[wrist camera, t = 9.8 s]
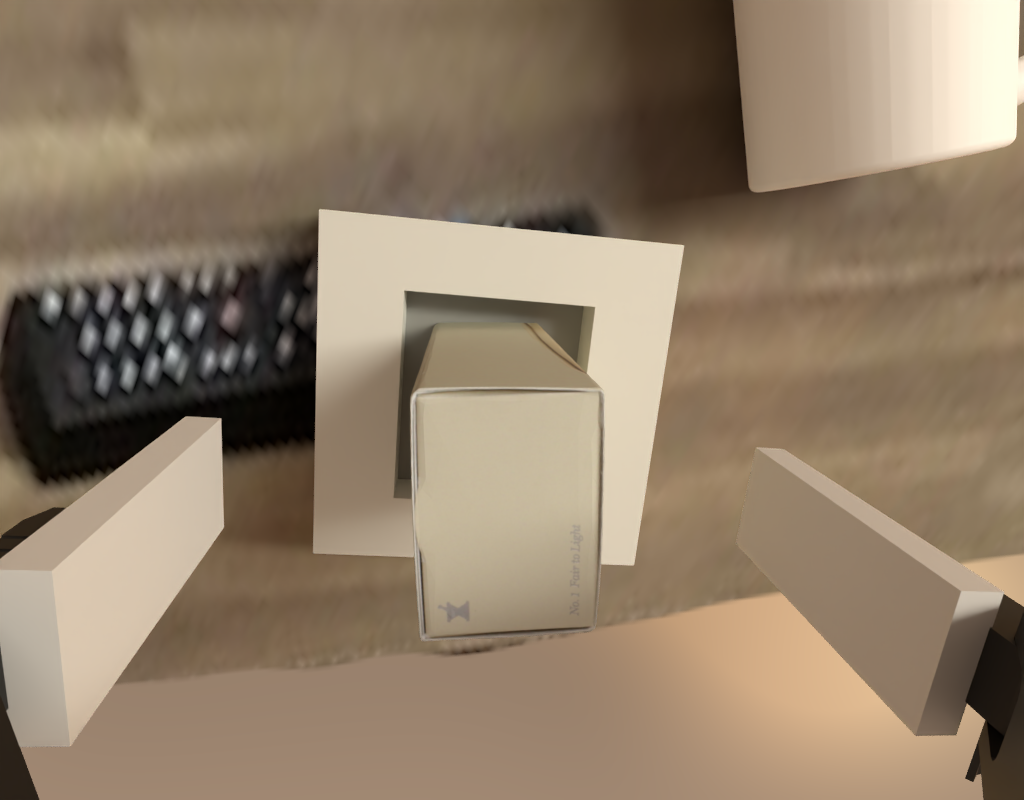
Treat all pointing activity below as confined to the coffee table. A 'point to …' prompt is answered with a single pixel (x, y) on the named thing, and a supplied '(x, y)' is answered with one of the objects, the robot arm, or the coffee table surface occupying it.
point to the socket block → (474, 298)
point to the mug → (873, 85)
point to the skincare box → (505, 485)
